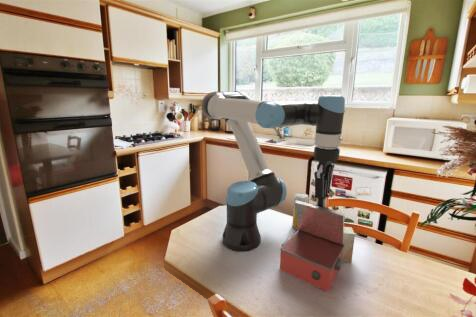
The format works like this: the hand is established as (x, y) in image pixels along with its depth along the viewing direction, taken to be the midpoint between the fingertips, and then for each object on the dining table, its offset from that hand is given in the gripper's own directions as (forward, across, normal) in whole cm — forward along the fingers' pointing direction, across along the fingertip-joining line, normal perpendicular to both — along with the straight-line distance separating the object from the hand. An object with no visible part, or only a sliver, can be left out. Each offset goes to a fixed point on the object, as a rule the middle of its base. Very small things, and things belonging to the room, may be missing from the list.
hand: (320, 215), depth 83 cm
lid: (+3, -1, 0) cm, 3 cm away
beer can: (+18, +18, +14) cm, 28 cm away
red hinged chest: (+17, -5, 0) cm, 18 cm away
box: (+18, +7, -8) cm, 20 cm away
